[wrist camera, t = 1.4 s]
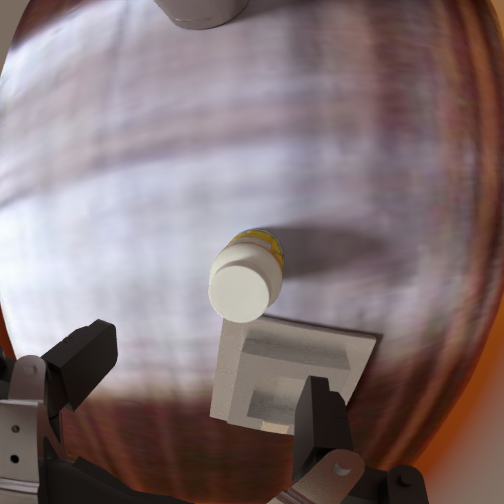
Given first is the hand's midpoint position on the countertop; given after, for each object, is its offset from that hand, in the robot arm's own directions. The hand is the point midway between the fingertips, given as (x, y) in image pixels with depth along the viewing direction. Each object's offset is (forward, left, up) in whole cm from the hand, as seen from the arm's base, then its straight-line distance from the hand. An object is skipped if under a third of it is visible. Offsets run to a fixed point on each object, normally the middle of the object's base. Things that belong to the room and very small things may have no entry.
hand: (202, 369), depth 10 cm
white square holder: (+14, +6, -17) cm, 23 cm away
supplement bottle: (0, 0, -18) cm, 18 cm away
